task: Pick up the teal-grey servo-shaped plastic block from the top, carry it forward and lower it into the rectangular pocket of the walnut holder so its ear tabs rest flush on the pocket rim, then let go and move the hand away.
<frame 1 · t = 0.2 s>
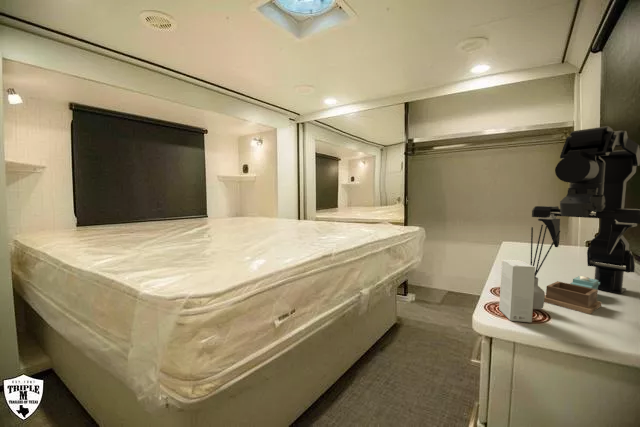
hand: (581, 250, 65), 14 cm above the cabinet, tool pointing down, fingers open, 9 cm apart
reed diffuser: (534, 311, 65), on the cabinet, touching skincare box
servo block: (584, 295, 75), on the cabinet
pocket holder: (570, 303, 69), on the cabinet
skincare box: (514, 316, 61), on the cabinet, touching reed diffuser
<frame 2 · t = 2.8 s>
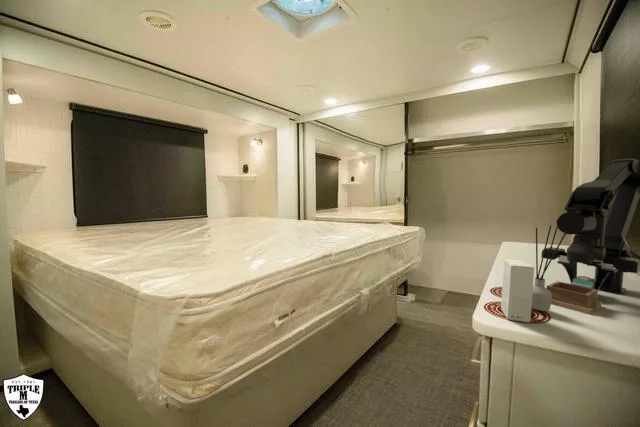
hand: (584, 289, 75), 2 cm above the cabinet, tool pointing down, fingers closed on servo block, 4 cm apart
reed diffuser: (539, 312, 64), on the cabinet, touching skincare box
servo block: (584, 295, 75), on the cabinet, touching gripper
everything else where it was.
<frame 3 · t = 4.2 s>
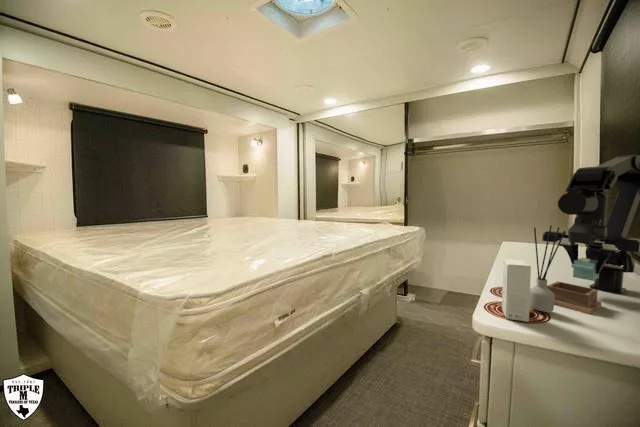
hand: (586, 271, 75), 7 cm above the cabinet, tool pointing down, fingers closed on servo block, 4 cm apart
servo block: (585, 277, 75), point 5 cm above the cabinet, touching gripper
everything else where it was.
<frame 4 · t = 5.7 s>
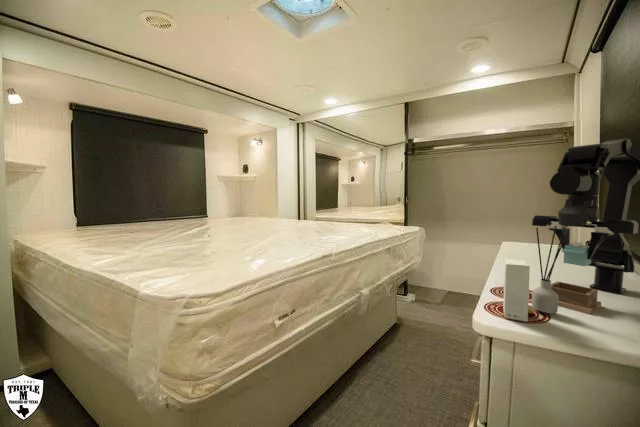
hand: (577, 257, 70), 11 cm above the cabinet, tool pointing down, fingers closed on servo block, 4 cm apart
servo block: (577, 263, 70), point 10 cm above the cabinet, touching gripper
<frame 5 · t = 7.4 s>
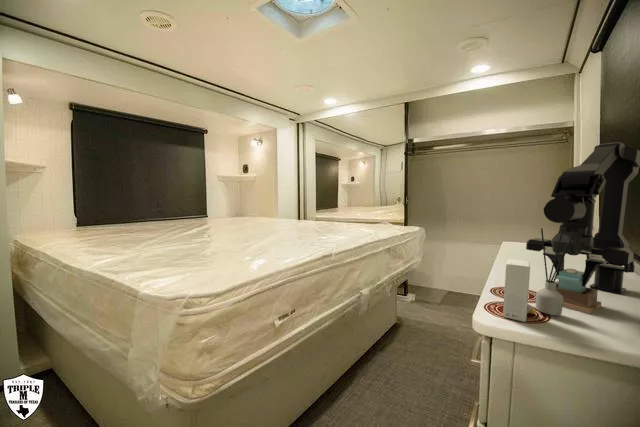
hand: (572, 283, 69), 5 cm above the cabinet, tool pointing down, fingers closed on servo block, 4 cm apart
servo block: (571, 289, 69), point 4 cm above the cabinet, touching gripper
when the fingers open (4 cm above the cabinet, at t = 8.6 s): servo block drops 2 cm, resting on pocket holder.
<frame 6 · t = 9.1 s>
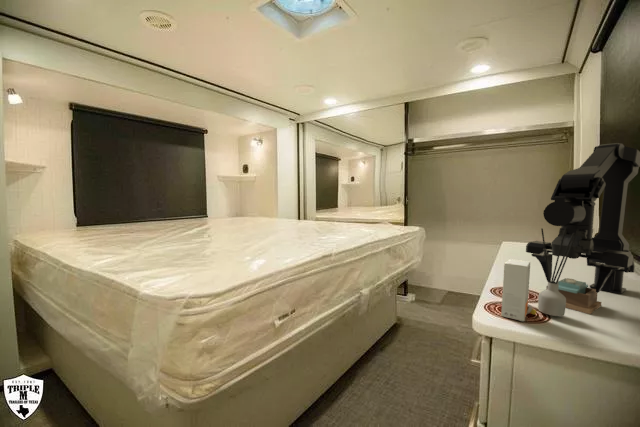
hand: (571, 286, 69), 4 cm above the cabinet, tool pointing down, fingers open, 9 cm apart
reed diffuser: (551, 317, 61), on the cabinet, touching skincare box
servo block: (570, 299, 69), point 1 cm above the cabinet, touching pocket holder
skincare box: (514, 315, 62), on the cabinet, touching reed diffuser
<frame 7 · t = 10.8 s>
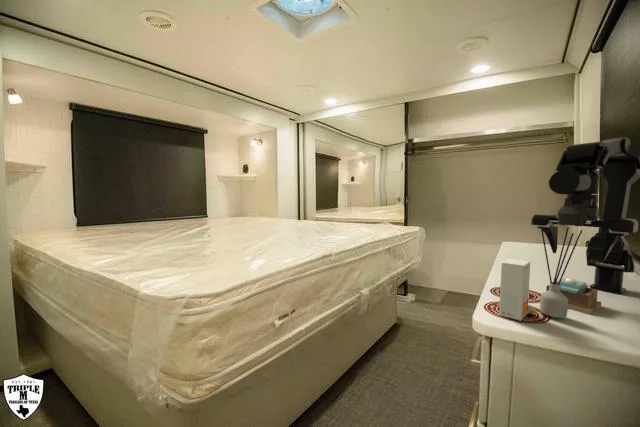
hand: (577, 256, 70), 12 cm above the cabinet, tool pointing down, fingers open, 9 cm apart
skincare box: (513, 315, 62), on the cabinet, touching reed diffuser
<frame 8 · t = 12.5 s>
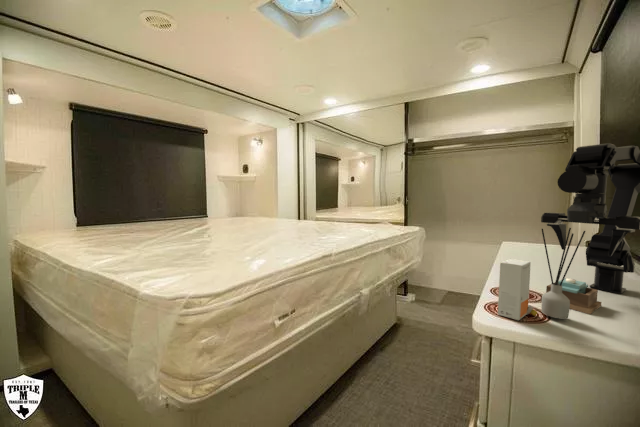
hand: (585, 252, 73), 12 cm above the cabinet, tool pointing down, fingers open, 9 cm apart
reed diffuser: (553, 320, 60), on the cabinet, touching skincare box
everything else where it was.
at the end: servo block 0.0 cm off-centre on the pocket holder, point 1.0 cm above the pocket holder's base; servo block tilted 0°; the gripper is holding nothing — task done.
